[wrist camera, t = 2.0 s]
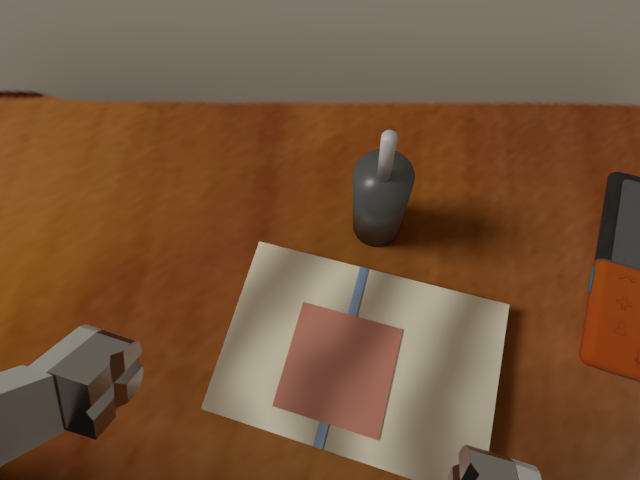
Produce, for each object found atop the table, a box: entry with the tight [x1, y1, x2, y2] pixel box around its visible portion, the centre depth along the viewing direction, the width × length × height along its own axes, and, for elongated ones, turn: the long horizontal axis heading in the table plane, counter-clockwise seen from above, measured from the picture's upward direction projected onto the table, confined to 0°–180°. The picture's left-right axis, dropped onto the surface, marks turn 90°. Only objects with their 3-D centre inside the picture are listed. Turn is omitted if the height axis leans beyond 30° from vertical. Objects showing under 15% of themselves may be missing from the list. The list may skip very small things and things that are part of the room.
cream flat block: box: [201, 241, 509, 480], centre depth 27 cm, size 18×12×2 cm, turn 74°
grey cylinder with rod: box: [353, 130, 415, 247], centre depth 25 cm, size 4×4×12 cm
